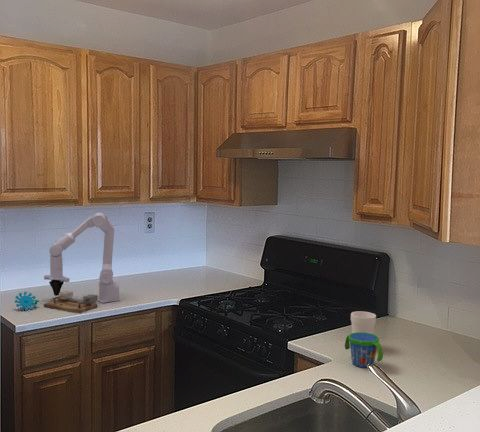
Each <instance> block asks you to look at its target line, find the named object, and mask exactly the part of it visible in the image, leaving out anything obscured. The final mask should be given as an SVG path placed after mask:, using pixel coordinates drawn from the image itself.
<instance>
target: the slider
mask: <svg viewBox="0 0 480 432" xmlns="http://www.w3.org/2000/svg"><path fill="white" fill-rule="evenodd" d="M73 294H74V291H71V290H64V291H60V293H59V295H58V296H55V297H52V300H53V301H54V303H56V300H57V299H58V298H61V299H68V298H74V295H73Z"/></svg>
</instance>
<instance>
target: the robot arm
mask: <svg viewBox="0 0 480 432" xmlns="http://www.w3.org/2000/svg"><path fill="white" fill-rule="evenodd" d="M94 226H95V227H96V228H99V229H100V230H101V231H102V232H103V233H104V237H103V239H104V240H103V252H102V253H103V254H102V266H101V271H100V274H99V282H98V297H97V302H100V303H102V304H105V303H110V302H111V303H112V302H117V301H120V300H121V299H120V285H119V283H118V281H114V280H113V276H114V272H113V269H112V267H113V264H112V263H113V255H114V254H113V251H114V235H115V228H114V226H113V224H112V223H111V220H110V219H109V217H108V216H107V215H106V214H105V213H103V212H101V211H100V212H99V211H98V212H96V213H95V214H94V215H92V216H90V217H88V218H87V219H85V220H84V221H83V222H82V223H81V224H79V225H78V226H77V227H76V228H75V229H74V230H73V231H72V232H66V233H63V234H62V236H61V237H60V238H59V239H58V240H57V239H56V240H55V241H54V242H55V243H53V244H52V245H51V246H50V247H49V249H48V250H49V251H48V252H49V255H50V259H49V267H50V268H49V271H50V272H49V273H50V274H45V275H43V279H44V280H45V281H46V280H50V281H49V282H48V283H49V285H50V286H51V287H50V288H51V289H52V291H53V295H54V296H55V297H58V296H59V293H60V292H61V289H62V287H63V285H64V283H65V284H66V283H67V284H68V283H70V278H69V277H66V276H64V275H63V274H64V272H63V270H64V269H63V265H64V264H63V251H66V250H67V249H68V248H69V247H70V246H71V245H73V244H75V242H76V238H77V237H78V236H80V235H81V234H82V233H83V232H85V231H86V230H87V229H90V228H94Z"/></svg>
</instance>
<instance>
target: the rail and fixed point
mask: <svg viewBox="0 0 480 432" xmlns="http://www.w3.org/2000/svg"><path fill="white" fill-rule="evenodd" d="M82 298H83V299H80V298H76V297H75V298H74V297H71V298H68V299H61V298H58V299H56V300H60V301H66V302H72V303H77V304H79V307H80V304H84V305H90V306H92V305H95V304H97V302H98V300H97V298H98V295H97V294H88V295H84V296H83V297H82Z"/></svg>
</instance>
